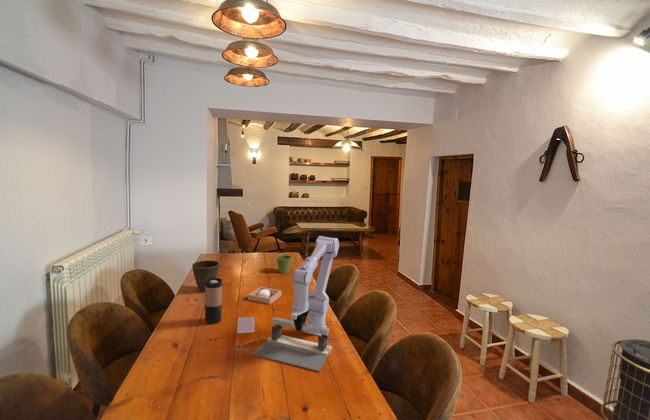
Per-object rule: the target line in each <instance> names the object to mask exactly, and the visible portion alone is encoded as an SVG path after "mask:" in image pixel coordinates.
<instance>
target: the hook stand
mask: <svg viewBox="0 0 650 420" xmlns="http://www.w3.org/2000/svg"><path fill="white" fill-rule="evenodd" d="M282 331H283V326H279V325H275V326H274V325H273V326H271V335H270V336H269V337H268V338H267V339H266V342H268V343H272V344H276V345H281V346H285V347H289V348H293V349H298V350H302V351H306V352H310V353H315V354H319V355H323V356H327V357H328V356H329V354H330V352H331V350H332V348H333V347H332V346H331V345H328V340H329V339H328V337H329V336H328V335H329V334H328V335H327V336H326V335H321V336H319V335H318V341H317V342H314V341H310V340H305V339H302V338H301V339H300V338H297V337H292V336H289V335H288V336H287V335H283V334H282Z"/></svg>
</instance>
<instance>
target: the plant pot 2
mask: <svg viewBox="0 0 650 420" xmlns="http://www.w3.org/2000/svg"><path fill="white" fill-rule="evenodd" d="M275 258H276V261H277V268H278V269H277V270H278V273H279V274H288V273H289V272H290V267H291V262H292V259H293V256H292V255H289V254H279V255H276V256H275Z"/></svg>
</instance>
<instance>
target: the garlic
mask: <svg viewBox="0 0 650 420" xmlns="http://www.w3.org/2000/svg"><path fill="white" fill-rule="evenodd" d="M257 296H262V297H267V298H270V297H271V294H270V291H269V290H268V289H263V290H261V291H260V292H259V293H258V295H257Z"/></svg>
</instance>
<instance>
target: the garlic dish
mask: <svg viewBox="0 0 650 420" xmlns="http://www.w3.org/2000/svg"><path fill="white" fill-rule="evenodd" d="M263 289H268V290H269V291H270V295H272V296H269V297H268V298H267V297H262V296H258V293H259V292H260V291H261V290H263ZM282 293H283V292H282V290H280V289H275V288H269V287H264V286H260V287H258V288H256V289H254V290H253V291H252V292H250V293H248V294H247V301H251V302H258V303H261V304H262V303H263V304H268V305H271V304H273V302H275V301H276V300H277V299H279V298H280V297H282Z"/></svg>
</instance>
